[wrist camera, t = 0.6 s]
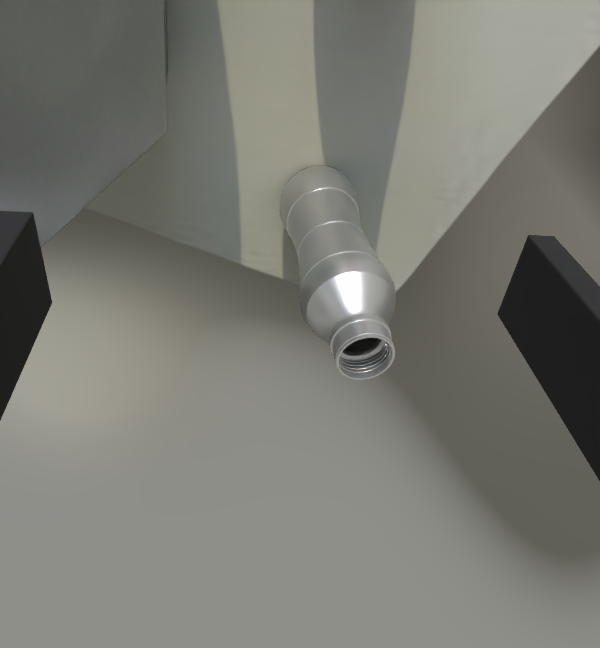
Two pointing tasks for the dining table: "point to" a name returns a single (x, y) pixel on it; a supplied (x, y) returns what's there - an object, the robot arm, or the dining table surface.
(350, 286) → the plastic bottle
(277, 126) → the dining table surface
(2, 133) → the lid
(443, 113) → the dining table surface
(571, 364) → the robot arm
